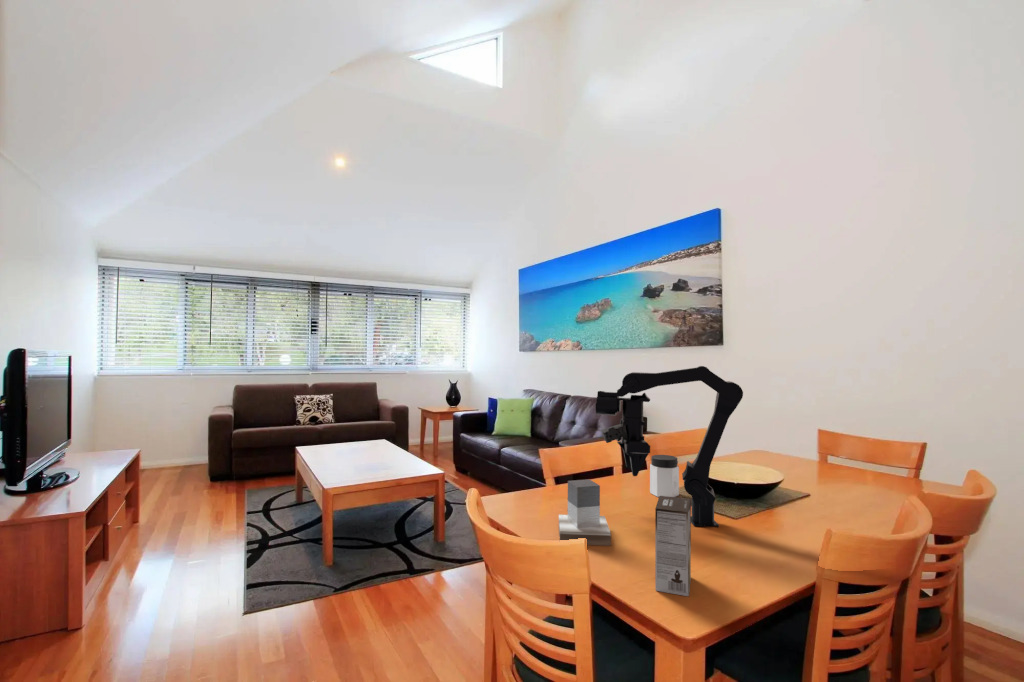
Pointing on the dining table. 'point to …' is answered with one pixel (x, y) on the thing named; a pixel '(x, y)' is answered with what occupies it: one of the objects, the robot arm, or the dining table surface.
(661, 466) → the jar
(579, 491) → the block
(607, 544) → the stand
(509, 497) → the dining table surface
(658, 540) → the coffee box
